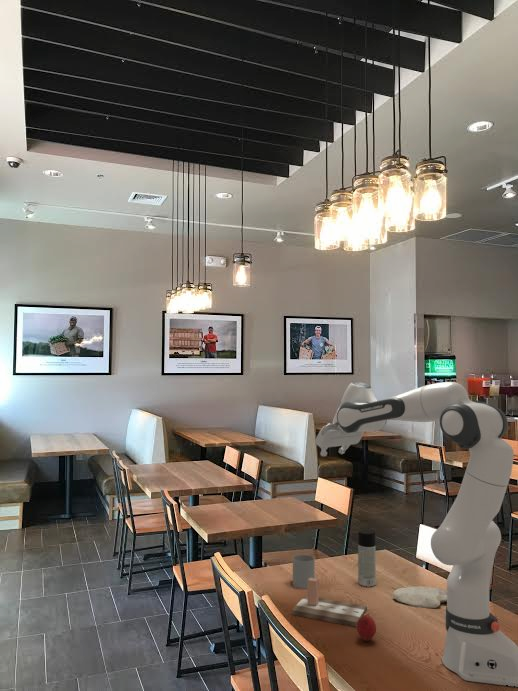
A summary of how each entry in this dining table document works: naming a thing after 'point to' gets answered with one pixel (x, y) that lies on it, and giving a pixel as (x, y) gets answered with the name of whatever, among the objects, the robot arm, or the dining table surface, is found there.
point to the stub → (312, 591)
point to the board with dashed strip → (330, 611)
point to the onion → (366, 627)
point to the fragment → (421, 596)
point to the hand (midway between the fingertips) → (332, 454)
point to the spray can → (366, 558)
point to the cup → (303, 570)
